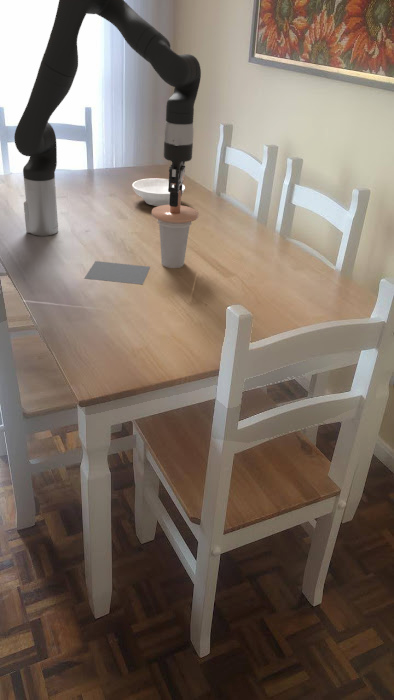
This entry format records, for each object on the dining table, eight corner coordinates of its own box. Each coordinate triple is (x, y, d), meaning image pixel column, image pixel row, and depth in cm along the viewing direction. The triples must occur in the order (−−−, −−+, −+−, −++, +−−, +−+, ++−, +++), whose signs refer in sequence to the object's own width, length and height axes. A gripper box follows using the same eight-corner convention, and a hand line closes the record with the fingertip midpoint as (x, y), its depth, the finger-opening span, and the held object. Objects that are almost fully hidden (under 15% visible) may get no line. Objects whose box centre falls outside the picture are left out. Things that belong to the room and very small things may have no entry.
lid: (148, 220, 154) (148, 195, 151) (155, 205, 165) (156, 182, 162) (195, 224, 154) (197, 200, 150) (200, 209, 165) (201, 186, 161)
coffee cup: (193, 261, 170) (196, 212, 162) (182, 273, 162) (185, 223, 155) (163, 256, 173) (165, 207, 165) (151, 267, 165) (152, 217, 157)
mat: (84, 279, 155) (84, 278, 155) (95, 262, 165) (95, 261, 165) (142, 285, 154) (142, 284, 154) (150, 267, 164) (150, 266, 164)
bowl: (194, 203, 218) (195, 185, 214) (164, 216, 204) (165, 197, 200) (152, 192, 226) (153, 175, 223) (121, 204, 212) (121, 185, 208)
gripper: (168, 133, 155) (165, 192, 164) (160, 144, 143) (158, 208, 152) (195, 136, 155) (191, 195, 163) (189, 147, 143) (186, 210, 151)
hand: (175, 201), depth 158 cm, fingers open, 8 cm apart
